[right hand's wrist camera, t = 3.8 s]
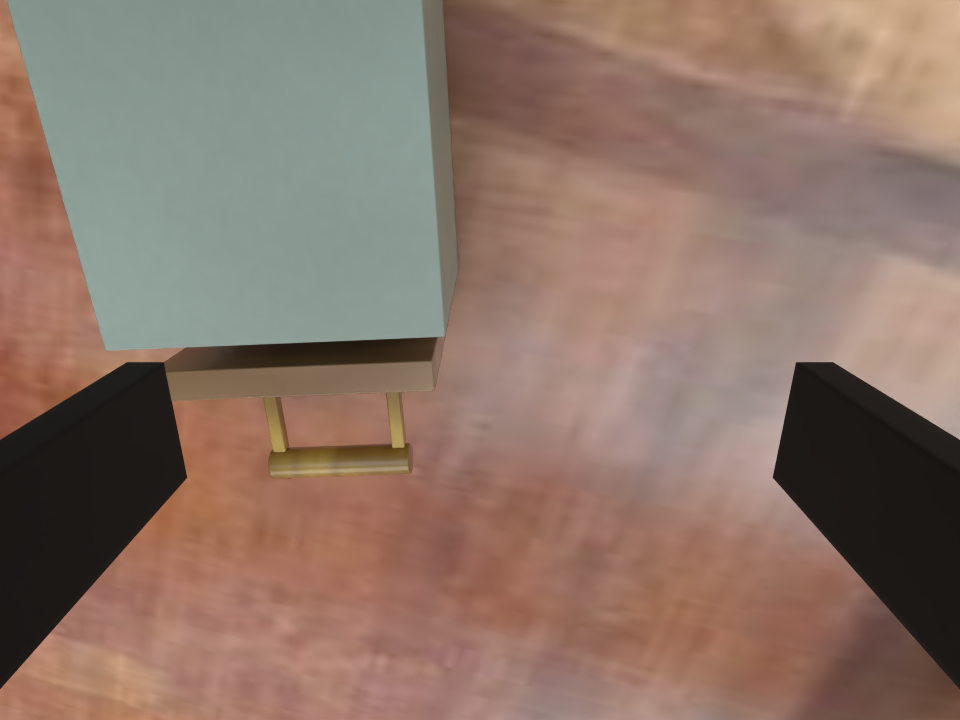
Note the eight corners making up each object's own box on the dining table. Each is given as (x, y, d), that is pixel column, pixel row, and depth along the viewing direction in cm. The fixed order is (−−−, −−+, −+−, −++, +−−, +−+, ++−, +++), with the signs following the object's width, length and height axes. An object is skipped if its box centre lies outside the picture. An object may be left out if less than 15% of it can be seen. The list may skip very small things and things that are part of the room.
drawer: (455, 425, 32) (445, 530, 23) (270, 433, 32) (191, 539, 24) (420, -108, 24) (384, -259, 15) (171, -94, 24) (-10, -235, 15)
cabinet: (458, 269, 30) (445, 337, 19) (238, 279, 30) (104, 351, 20) (430, -212, 23) (386, -519, 13) (148, -195, 24) (-131, -483, 13)
